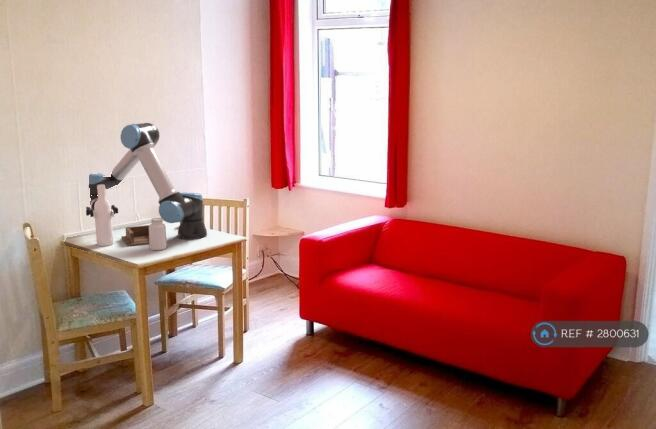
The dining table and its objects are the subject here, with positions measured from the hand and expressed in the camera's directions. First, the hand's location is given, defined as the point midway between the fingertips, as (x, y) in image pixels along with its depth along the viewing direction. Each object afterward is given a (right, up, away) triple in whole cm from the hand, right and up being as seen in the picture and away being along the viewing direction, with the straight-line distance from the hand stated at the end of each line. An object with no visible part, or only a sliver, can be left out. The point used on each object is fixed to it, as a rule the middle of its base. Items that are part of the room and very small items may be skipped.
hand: (104, 214), depth 295 cm
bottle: (-2, -15, +8) cm, 17 cm away
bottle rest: (+14, -13, +16) cm, 25 cm away
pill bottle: (+26, -17, +1) cm, 31 cm away
